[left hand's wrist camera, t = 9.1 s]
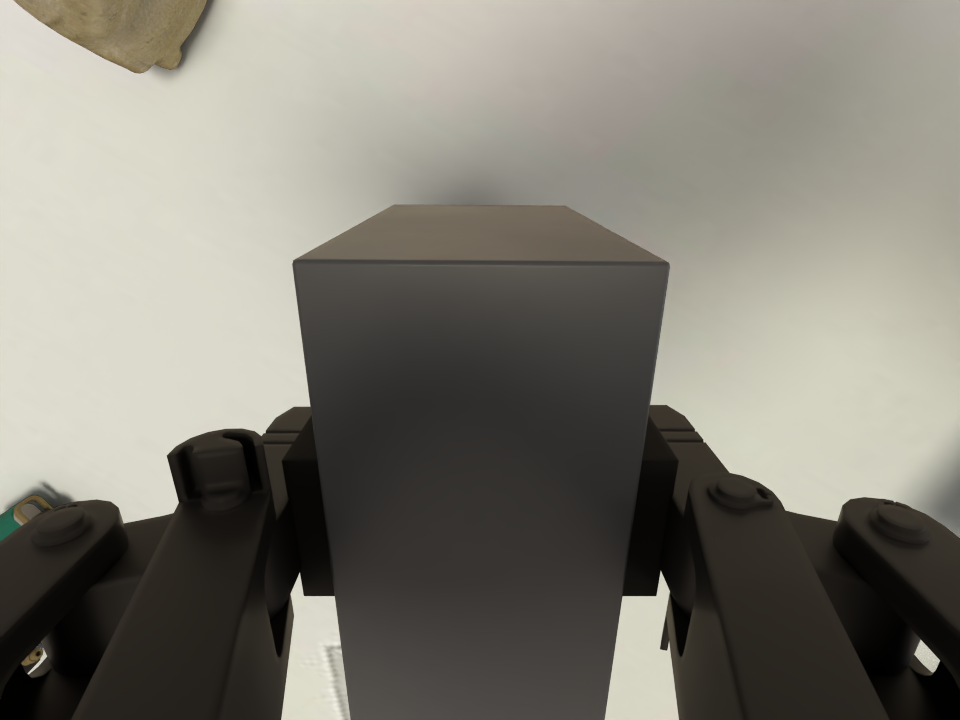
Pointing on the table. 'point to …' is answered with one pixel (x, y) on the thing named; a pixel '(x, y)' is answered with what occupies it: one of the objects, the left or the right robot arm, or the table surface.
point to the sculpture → (123, 27)
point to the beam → (479, 452)
